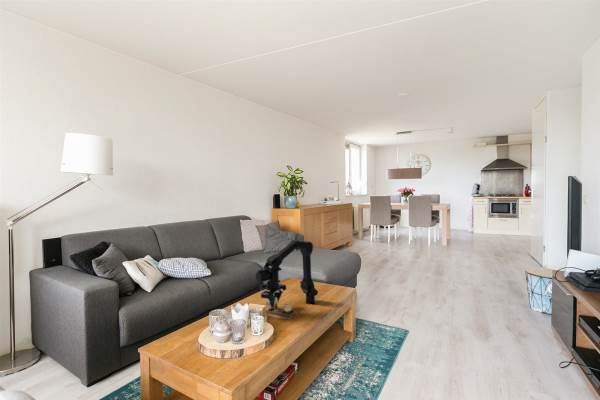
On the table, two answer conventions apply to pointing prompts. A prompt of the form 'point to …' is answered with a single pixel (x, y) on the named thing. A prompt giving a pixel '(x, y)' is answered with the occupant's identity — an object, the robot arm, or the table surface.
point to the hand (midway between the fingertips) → (274, 305)
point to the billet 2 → (287, 308)
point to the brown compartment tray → (280, 313)
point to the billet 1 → (275, 303)
